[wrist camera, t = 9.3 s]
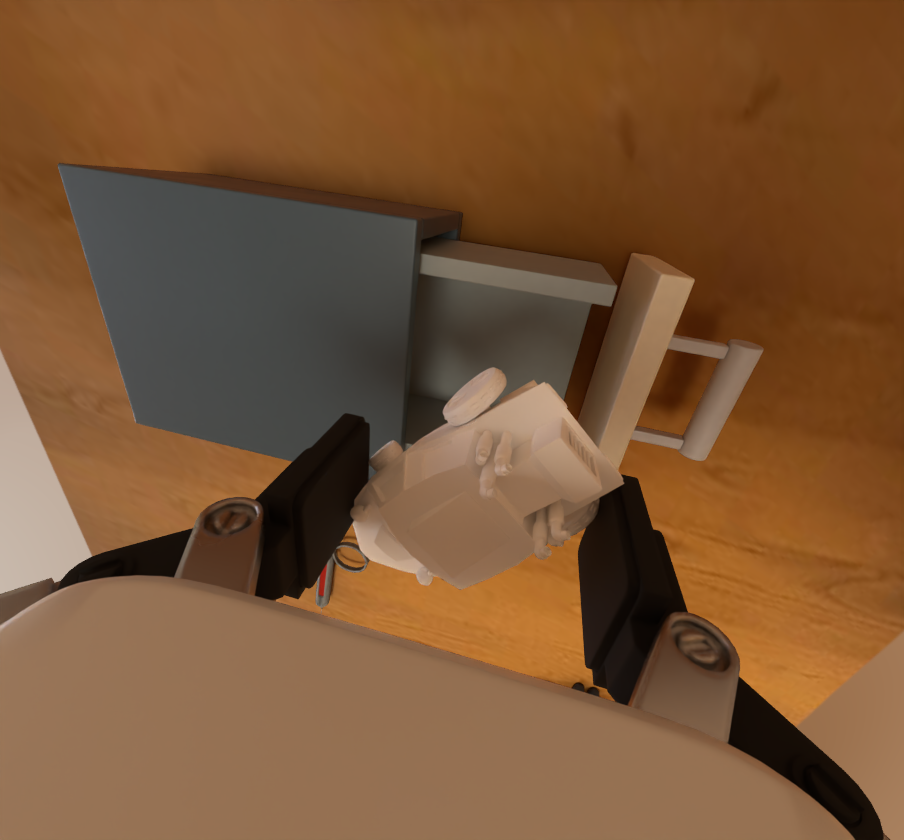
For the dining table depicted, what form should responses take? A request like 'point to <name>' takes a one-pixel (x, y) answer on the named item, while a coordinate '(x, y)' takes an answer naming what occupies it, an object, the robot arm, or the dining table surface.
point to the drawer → (561, 339)
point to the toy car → (483, 486)
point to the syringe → (326, 575)
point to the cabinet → (254, 302)
